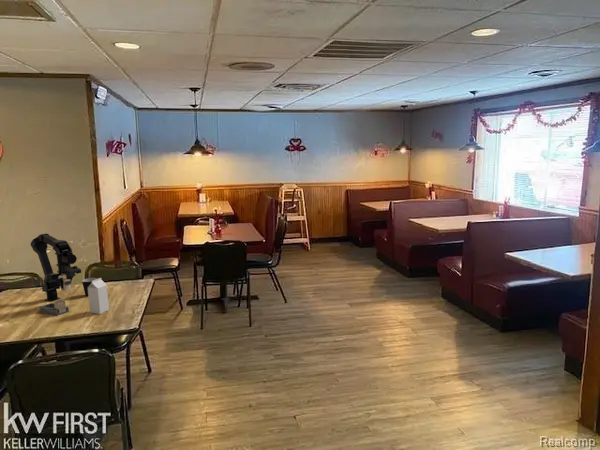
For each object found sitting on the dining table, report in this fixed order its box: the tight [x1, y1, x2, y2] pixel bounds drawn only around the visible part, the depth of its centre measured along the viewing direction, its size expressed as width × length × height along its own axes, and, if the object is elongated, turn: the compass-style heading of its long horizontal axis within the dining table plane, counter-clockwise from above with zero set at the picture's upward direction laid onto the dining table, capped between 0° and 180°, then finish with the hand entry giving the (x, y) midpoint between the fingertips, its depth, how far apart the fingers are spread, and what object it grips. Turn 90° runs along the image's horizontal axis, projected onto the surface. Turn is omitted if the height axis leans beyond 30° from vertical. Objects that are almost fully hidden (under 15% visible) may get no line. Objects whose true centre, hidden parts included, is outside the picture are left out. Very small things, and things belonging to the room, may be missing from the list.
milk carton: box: [88, 277, 110, 315], centre depth 260 cm, size 7×7×19 cm
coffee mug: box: [81, 277, 97, 298], centre depth 294 cm, size 12×9×10 cm
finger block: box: [60, 278, 72, 291], centre depth 274 cm, size 5×4×6 cm
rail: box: [39, 299, 70, 317], centre depth 263 cm, size 16×7×7 cm, turn 60°
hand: (65, 287), depth 275 cm, fingers closed on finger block, 4 cm apart
